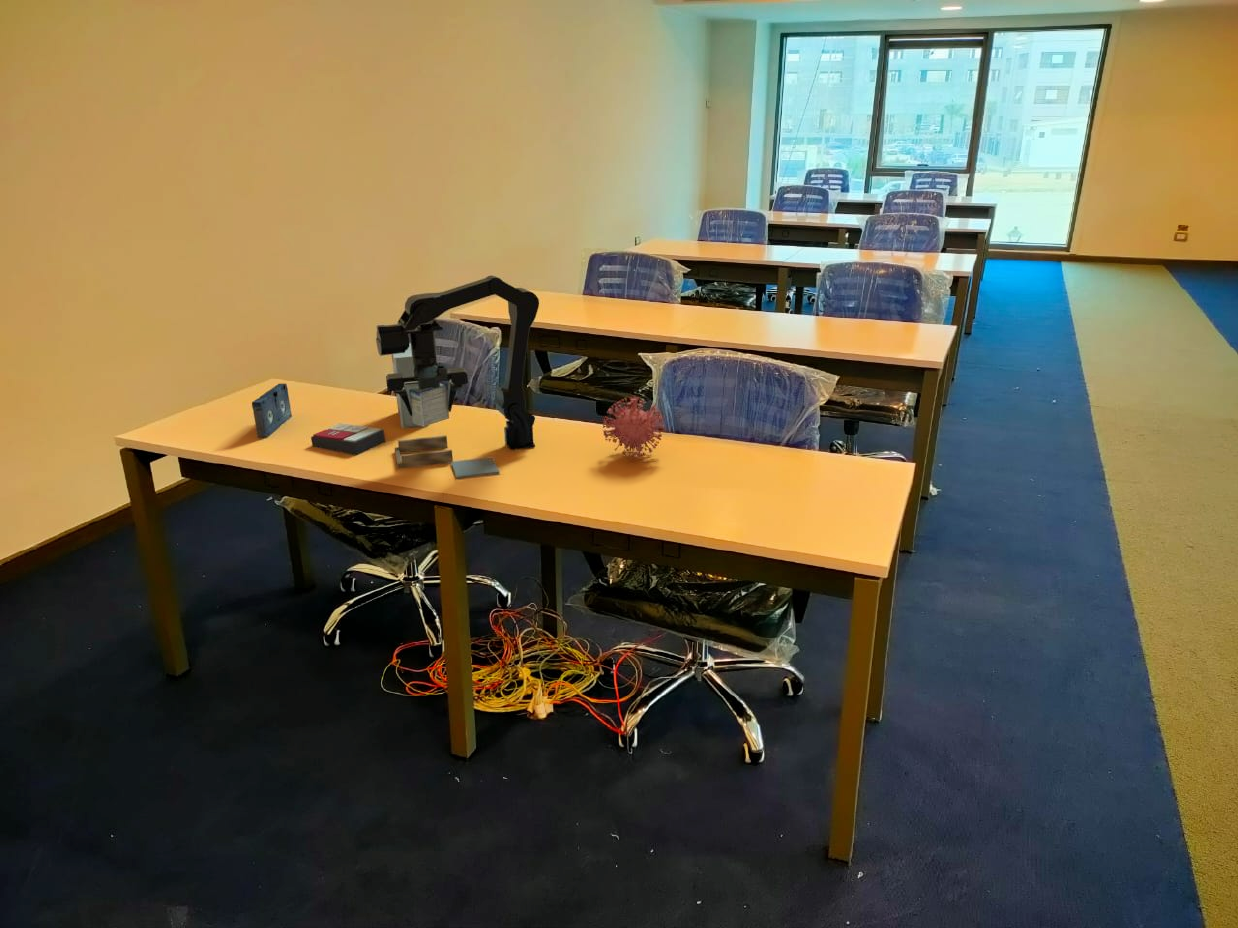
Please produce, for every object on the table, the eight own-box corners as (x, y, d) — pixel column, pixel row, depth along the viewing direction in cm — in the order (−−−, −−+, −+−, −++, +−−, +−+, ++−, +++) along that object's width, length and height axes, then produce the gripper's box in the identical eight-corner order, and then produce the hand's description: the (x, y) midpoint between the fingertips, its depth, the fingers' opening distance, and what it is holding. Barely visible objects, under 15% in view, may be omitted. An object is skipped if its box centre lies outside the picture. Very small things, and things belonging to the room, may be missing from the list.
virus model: (591, 456, 212) (590, 398, 206) (633, 441, 222) (632, 386, 216) (634, 471, 202) (634, 411, 197) (676, 455, 212) (677, 397, 206)
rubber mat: (492, 459, 211) (492, 457, 210) (499, 473, 202) (499, 471, 202) (451, 464, 208) (451, 461, 208) (456, 478, 199) (456, 476, 199)
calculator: (340, 421, 229) (383, 426, 222) (342, 437, 230) (386, 442, 224) (309, 434, 219) (354, 439, 213) (312, 450, 221) (356, 456, 214)
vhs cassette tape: (283, 416, 244) (278, 383, 241) (294, 416, 244) (288, 383, 240) (255, 438, 227) (249, 402, 224) (266, 438, 227) (260, 402, 223)
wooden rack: (447, 446, 220) (446, 435, 219) (452, 462, 209) (451, 450, 208) (395, 452, 216) (393, 440, 215) (398, 468, 205) (396, 456, 204)
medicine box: (438, 415, 212) (434, 381, 209) (450, 419, 209) (446, 384, 206) (412, 423, 206) (408, 389, 203) (423, 427, 204) (420, 392, 201)
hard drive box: (397, 412, 247) (390, 344, 240) (424, 409, 249) (418, 342, 242) (401, 428, 233) (393, 357, 226) (430, 425, 235) (423, 354, 228)
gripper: (384, 362, 192) (392, 428, 198) (468, 354, 197) (473, 419, 202) (382, 350, 202) (390, 413, 208) (462, 343, 207) (467, 405, 212)
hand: (430, 413), depth 207 cm, fingers closed on medicine box, 9 cm apart
